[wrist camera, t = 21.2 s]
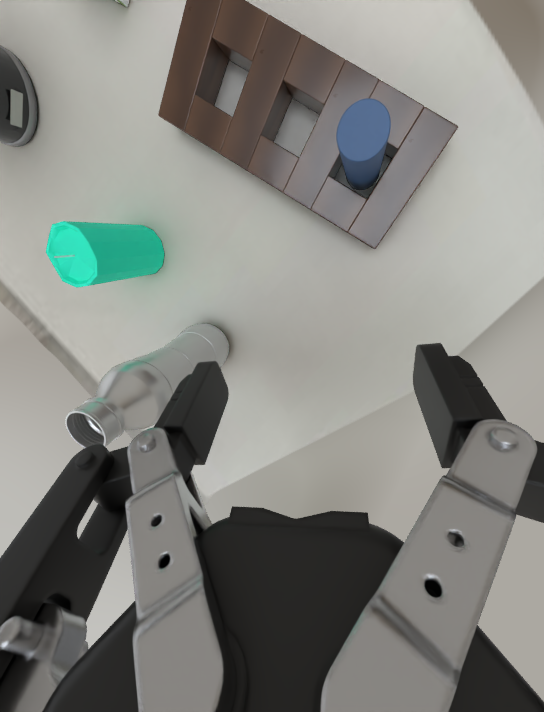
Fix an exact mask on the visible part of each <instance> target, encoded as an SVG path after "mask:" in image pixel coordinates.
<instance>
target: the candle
mask: <svg viewBox="0 0 544 712" xmlns="http://www.w3.org/2000/svg"><path fill="white" fill-rule="evenodd" d="M46 253H47V255H48V257H49V259H50V260H51V262H52V264H53V266H54V268H55V269H56V271H57V273H58V274H59V276H60V277H61V279H62V281H63V282H66V283H68V284H70V285H72V286H74V287H83V286H89V285H95V284H100V283H106V282H111V281H117V280H122V279H128V278H133V277H138V276H144V275H149V274H155V273H156V272H157V271H158V270H159V269H160V268H161V267H162V266H163V260H164V255H165V253H164V249H163V246H162V242H161V240H160V238H159V237H158V236H157V235H156V233H155V232H154V231H153V230H152V229H150V228H147V227H145V226H143V225H129V224H108V223H87V222H66V221H63V222H59V223H56V224H52V227H51V231H50V234H49V239H48V244H47V249H46Z"/></svg>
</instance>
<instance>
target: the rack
mask: <svg viewBox="0 0 544 712" xmlns="http://www.w3.org/2000/svg"><path fill="white" fill-rule="evenodd" d="M228 60H230V61H232V62H234V63H235V64H237V65H238V66H240V67H242V68H243V69H245V70H247V71H248V72H249V73H248V76H247V79H246V81H245V84H244V87H243V90H242V93H241V96H240V98H239V101H238V104H237V107H236V110H235V113H234V115H233V117H232V116H230V115H228V114H227V113H225V112H223V111H222V110H220V109H218V108H217V107H215V106H214V104H215V100H216V97H217V94H218V91H219V88H220V85H221V82H222V79H223V76H224V72H225V69H226V66H227V63H228ZM292 98H293V99H295V100H297V101H298V102H300V103H302V104H303V105H305V106H307V107H308V108H310V109H312V110H313V111H315V112H317V113H318V114H320V115H319V118H318V120H317V122H316V124H315V126H314V128H313V130H312V132H311V134H310V137H309V139H308V141H307V143H306V145H305V147H304V149H303V151H302V153H301V155H300V158H299V157H297V156H295V155H294V154H292V153H290V152H289V151H287V150H286V149H284V148H282V147H281V146H279V145H277V144H276V143H274V142H273V141H274V139H275V136H276V134H277V132H278V129H279V127H280V125H281V122H282V120H283V118H284V115H285V113H286V110H287V108H288V106H289V103H290V101H291V99H292ZM368 98H370V99H375V100H378V101H380V102H381V103H382V104H383V105H384V106H385V107H386V108H387V110H388V112H389V115H390V119H391V129H390V134H389V138H388V142H387V145H386V149H385V154H386V155H388V156H390V157H391V158H392V160H391V162H390V163H389V165H388V167H387V168H386V170H385V172H384V173H383V175H382V176H381V178H380V180H379V181H378V183H377V185H376V186H375V188H374V189H373V191H372V193H371V194H370V196H369V198H368V199H366V198H364V197H363V196H361V195H359V194H358V193H356V192H354V191H353V190H351V189H349V188H348V187H346V186H345V185H343V184H341V183H340V182H338V181H336V180H335V179H334V177H335V175H336V174H337V172H338V170H339V168H340V166H341V164H342V159H341V156H340V152H339V149H338V145H337V139H336V134H337V128H338V124H339V121H340V119H341V117H342V115H343V114H344V112H345V111H346V110H347V109H348V108H349V107H350V106H351V105H352V104H354V103H355V102H357V101H359V100H362V99H368ZM158 115H159V116H160V117H161V118H163V119H164V120H166V121H168V122H169V123H171V124H172V125H174V126H176V127H177V128H179V129H181V130H182V131H184V132H185V133H187V134H189V135H190V136H192V137H194V138H195V139H197V140H198V141H200V142H202V143H203V144H205V145H206V146H208V147H210V148H211V149H213V150H215V151H216V152H218V153H219V154H221V155H223V156H224V157H226V158H228V159H229V160H231V161H232V162H234V163H236V164H237V165H239V166H241V167H242V168H244V169H245V170H247V171H249V172H250V173H252V174H253V175H255V176H257V177H258V178H260V179H262V180H263V181H265V182H266V183H268V184H270V185H271V186H273V187H275V188H276V189H278V190H279V191H281V192H283V193H284V194H286V195H287V196H289V197H291V198H292V199H294V200H296V201H297V202H299V203H300V204H302V205H304V206H305V207H307V208H309V209H310V210H312V211H313V212H315V213H317V214H318V215H320V216H322V217H323V218H325V219H326V220H328V221H330V222H331V223H333V224H334V225H336V226H338V227H339V228H341V229H343V230H344V231H346V232H348V233H349V234H351V235H352V236H354V237H356V238H357V239H359V240H360V241H362V242H364V243H365V244H367V245H369V246H370V247H372V248H373V249H376V247H377V246H378V244H379V243H380V242H381V240H382V239H383V237H384V236H385V234H386V233H387V231H388V230H389V228H390V227H391V225H392V224H393V222H394V221H395V220H396V218H397V217H398V215H399V214H400V212H401V211H402V209H403V208H404V206H405V205H406V203H407V202H408V200H409V199H410V197H411V196H412V195H413V193H414V192H415V190H416V189H417V187H418V186H419V184H420V183H421V181H422V180H423V178H424V177H425V175H426V174H427V173H428V171H429V170H430V168H431V167H432V165H433V164H434V162H435V161H436V159H437V158H438V156H439V155H440V153H441V152H442V151H443V149H444V148H445V146H446V145H447V143H448V142H449V140H450V139H451V137H452V136H453V134H454V133H455V131H456V130H457V128H458V126H457V125H455V124H453V123H452V122H450V121H448V120H447V119H445V118H443V117H442V116H440V115H438V114H437V113H435V112H433V111H431V110H430V109H428V108H426V107H424V106H423V105H422V104H420V103H418V102H417V101H415V100H413V99H412V98H410V97H408V96H406V95H405V94H403V93H401V92H400V91H398V90H396V89H395V88H393V87H391V86H390V85H388V84H386V83H384V82H383V81H381V80H379V79H378V78H376V77H374V76H373V75H371V74H369V73H368V72H366V71H364V70H362V69H361V68H359V67H357V66H356V65H354V64H352V63H351V62H349V61H347V60H345V59H344V58H342V57H340V56H338V55H337V54H335V53H333V52H332V51H330V50H328V49H327V48H325V47H323V46H322V45H320V44H318V43H316V42H315V41H313V40H311V39H310V38H308V37H306V36H305V35H303V34H301V33H300V32H298V31H296V30H294V29H293V28H291V27H289V26H288V25H286V24H284V23H283V22H281V21H279V20H278V19H276V18H274V17H272V16H271V15H269V14H267V13H266V12H264V11H262V10H261V9H259V8H257V7H255V6H254V5H252V4H250V3H249V2H247V1H245V0H187V1H186V5H185V9H184V13H183V17H182V21H181V25H180V29H179V33H178V37H177V41H176V46H175V50H174V54H173V58H172V62H171V66H170V70H169V74H168V78H167V82H166V86H165V90H164V94H163V98H162V102H161V106H160V110H159V114H158Z"/></svg>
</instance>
